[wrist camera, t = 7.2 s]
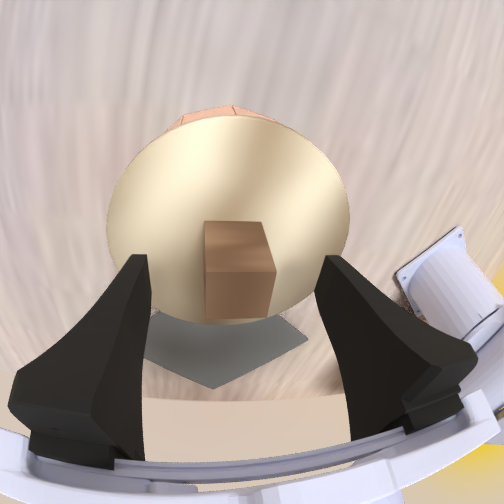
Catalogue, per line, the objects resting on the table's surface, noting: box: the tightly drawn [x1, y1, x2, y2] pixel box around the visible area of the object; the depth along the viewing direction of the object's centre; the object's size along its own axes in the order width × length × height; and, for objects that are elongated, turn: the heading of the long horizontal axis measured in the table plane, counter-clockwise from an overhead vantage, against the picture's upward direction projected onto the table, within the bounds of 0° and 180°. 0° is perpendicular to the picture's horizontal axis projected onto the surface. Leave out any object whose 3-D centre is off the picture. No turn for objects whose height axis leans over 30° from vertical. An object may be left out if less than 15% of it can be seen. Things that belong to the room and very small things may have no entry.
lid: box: [106, 115, 350, 325], centre depth 14 cm, size 12×12×4 cm
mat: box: [144, 311, 308, 389], centre depth 28 cm, size 13×13×1 cm
